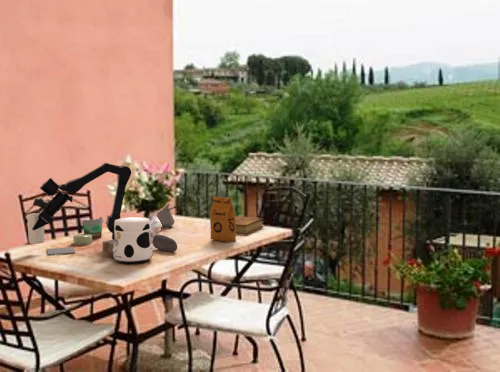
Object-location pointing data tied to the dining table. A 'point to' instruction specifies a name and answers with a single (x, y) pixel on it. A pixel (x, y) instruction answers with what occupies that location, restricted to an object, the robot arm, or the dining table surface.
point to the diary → (247, 224)
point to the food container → (93, 227)
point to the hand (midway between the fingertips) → (32, 228)
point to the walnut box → (108, 249)
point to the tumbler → (37, 234)
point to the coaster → (61, 251)
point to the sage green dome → (82, 239)
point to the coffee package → (222, 220)
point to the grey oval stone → (164, 243)
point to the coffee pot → (167, 216)
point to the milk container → (132, 240)
